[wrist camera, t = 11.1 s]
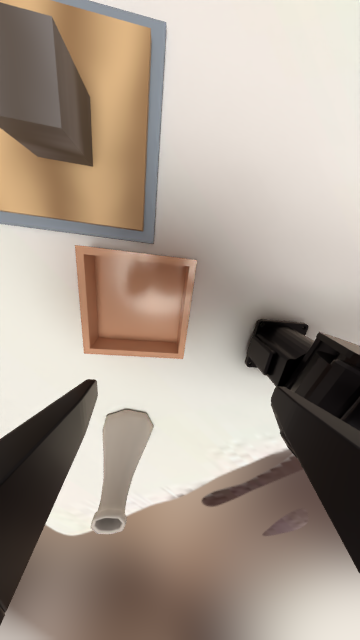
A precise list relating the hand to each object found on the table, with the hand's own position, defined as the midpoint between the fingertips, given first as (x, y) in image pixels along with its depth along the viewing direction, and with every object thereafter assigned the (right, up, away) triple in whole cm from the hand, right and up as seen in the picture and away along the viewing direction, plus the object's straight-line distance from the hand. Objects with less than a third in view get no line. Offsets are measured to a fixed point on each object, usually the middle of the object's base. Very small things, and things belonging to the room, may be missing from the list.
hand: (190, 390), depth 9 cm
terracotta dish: (-5, +5, +10) cm, 13 cm away
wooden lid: (-9, +18, +5) cm, 21 cm away
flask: (-8, -12, +17) cm, 22 cm away
